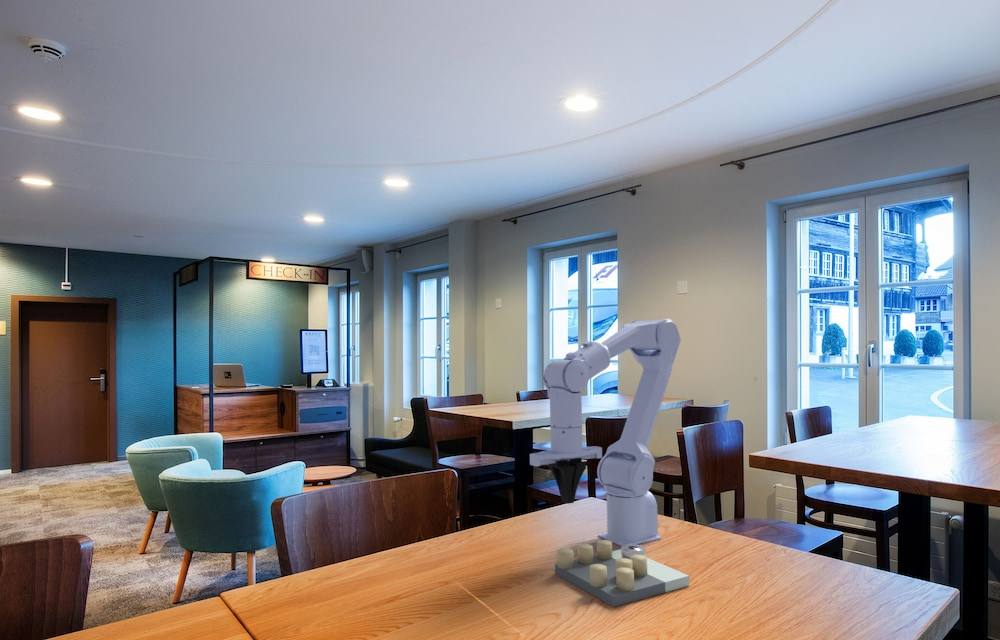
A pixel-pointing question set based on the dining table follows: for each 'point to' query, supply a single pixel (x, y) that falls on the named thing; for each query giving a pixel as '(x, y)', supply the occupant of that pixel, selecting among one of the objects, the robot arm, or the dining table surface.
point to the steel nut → (632, 550)
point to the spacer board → (611, 590)
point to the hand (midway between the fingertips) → (567, 502)
